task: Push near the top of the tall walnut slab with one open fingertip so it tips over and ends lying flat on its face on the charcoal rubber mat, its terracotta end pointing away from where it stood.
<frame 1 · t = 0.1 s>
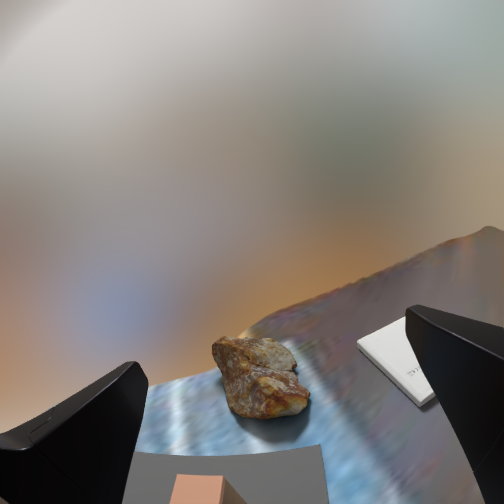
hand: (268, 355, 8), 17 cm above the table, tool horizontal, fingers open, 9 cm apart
decorative stone: (264, 386, 29), on the table
external hard drive: (412, 362, 25), on the table
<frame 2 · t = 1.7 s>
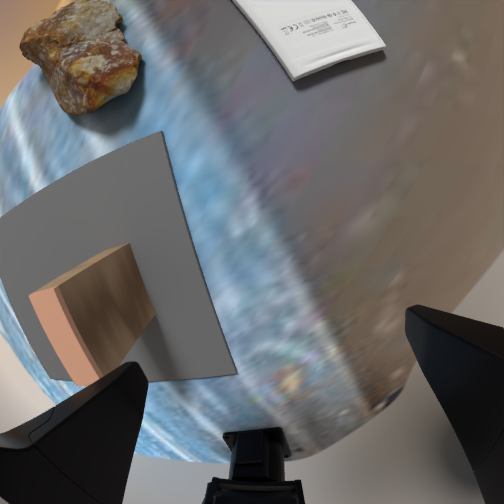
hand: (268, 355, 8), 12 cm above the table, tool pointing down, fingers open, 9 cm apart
rubber mat: (77, 293, 21), on the table
decorative stone: (90, 56, 16), on the table
external hard drive: (295, 9, 15), on the table
walnut slab: (129, 282, 20), resting on rubber mat
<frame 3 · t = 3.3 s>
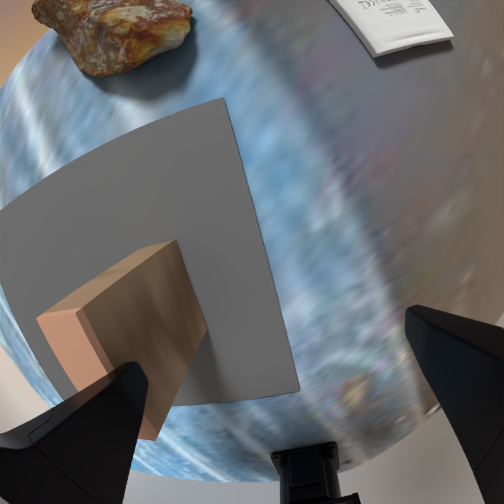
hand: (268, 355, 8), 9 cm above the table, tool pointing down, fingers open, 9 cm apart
rubber mat: (99, 303, 18), on the table
decorative stone: (120, 17, 12), on the table
walnut slab: (173, 289, 16), resting on rubber mat, touching gripper
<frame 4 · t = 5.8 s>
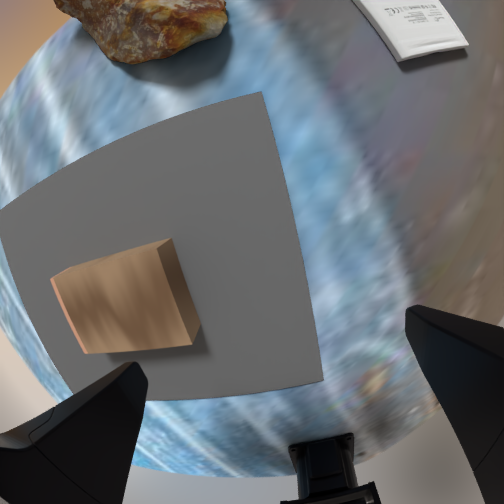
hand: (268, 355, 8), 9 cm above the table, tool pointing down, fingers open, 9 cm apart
rubber mat: (123, 294, 18), on the table
decorative stone: (148, 8, 13), on the table
walnut slab: (180, 290, 16), point 2 cm above the table, tilted 90°, touching rubber mat
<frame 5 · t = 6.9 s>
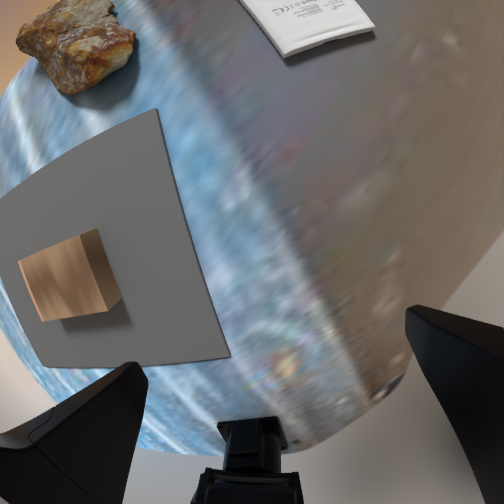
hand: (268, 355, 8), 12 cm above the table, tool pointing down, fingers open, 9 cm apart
rubber mat: (70, 273, 21), on the table
decorative stone: (86, 43, 15), on the table
walnut slab: (101, 268, 19), point 2 cm above the table, tilted 90°, touching rubber mat
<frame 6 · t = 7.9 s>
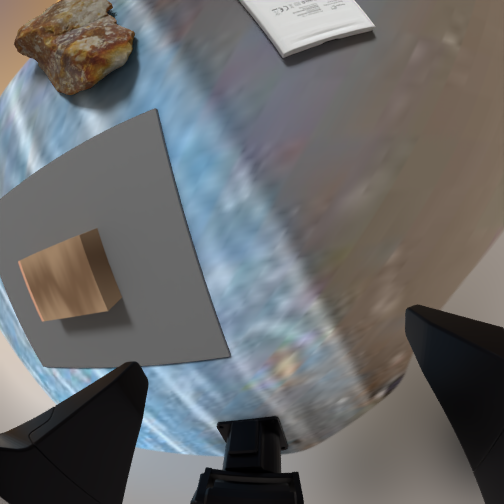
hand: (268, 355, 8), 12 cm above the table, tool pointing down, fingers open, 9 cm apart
rubber mat: (70, 274, 21), on the table
decorative stone: (84, 44, 15), on the table
walnut slab: (101, 268, 19), point 2 cm above the table, tilted 90°, touching rubber mat
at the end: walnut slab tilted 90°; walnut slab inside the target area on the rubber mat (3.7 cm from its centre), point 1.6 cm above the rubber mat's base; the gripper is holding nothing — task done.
